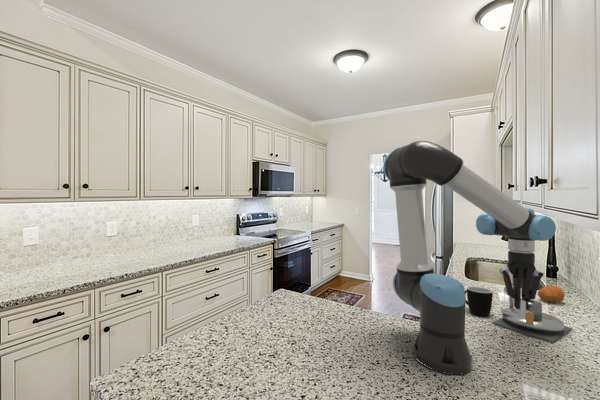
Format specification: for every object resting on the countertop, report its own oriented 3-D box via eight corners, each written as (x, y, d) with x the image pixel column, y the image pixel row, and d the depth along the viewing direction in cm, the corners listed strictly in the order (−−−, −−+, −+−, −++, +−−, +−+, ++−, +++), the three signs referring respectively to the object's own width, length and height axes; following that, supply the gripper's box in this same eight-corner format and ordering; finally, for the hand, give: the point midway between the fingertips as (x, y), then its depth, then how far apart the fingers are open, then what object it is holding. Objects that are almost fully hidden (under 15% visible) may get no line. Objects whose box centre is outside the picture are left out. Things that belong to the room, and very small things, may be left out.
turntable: (554, 336, 94) (554, 319, 94) (493, 317, 109) (493, 303, 109) (571, 324, 104) (571, 309, 104) (513, 308, 119) (513, 295, 119)
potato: (571, 304, 132) (571, 288, 132) (552, 306, 129) (552, 289, 129) (549, 298, 141) (549, 282, 141) (531, 299, 138) (531, 284, 138)
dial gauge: (515, 315, 117) (515, 287, 118) (503, 312, 121) (503, 284, 121) (519, 313, 120) (519, 285, 120) (507, 310, 123) (507, 283, 123)
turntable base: (553, 343, 93) (553, 337, 93) (492, 323, 109) (492, 318, 109) (572, 329, 104) (572, 324, 104) (514, 313, 119) (514, 308, 120)
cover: (537, 323, 101) (537, 304, 101) (514, 316, 107) (514, 298, 107) (545, 319, 105) (545, 301, 105) (522, 312, 110) (522, 295, 111)
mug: (497, 316, 116) (497, 291, 116) (482, 319, 113) (482, 293, 113) (470, 306, 127) (470, 283, 127) (455, 309, 124) (455, 285, 124)
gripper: (505, 252, 99) (505, 320, 99) (549, 254, 97) (549, 324, 96) (495, 249, 107) (495, 312, 106) (535, 250, 104) (535, 315, 104)
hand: (521, 318), depth 101 cm, fingers closed
